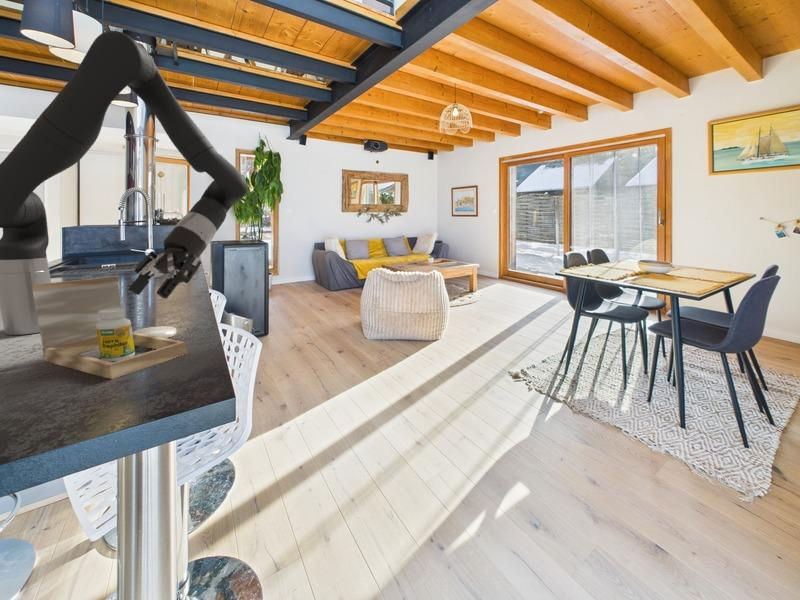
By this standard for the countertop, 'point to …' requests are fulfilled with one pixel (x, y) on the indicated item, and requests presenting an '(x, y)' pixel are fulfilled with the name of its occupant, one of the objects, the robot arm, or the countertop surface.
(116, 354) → the supplement bottle
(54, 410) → the countertop surface
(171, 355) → the cold frame
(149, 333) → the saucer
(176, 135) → the robot arm
